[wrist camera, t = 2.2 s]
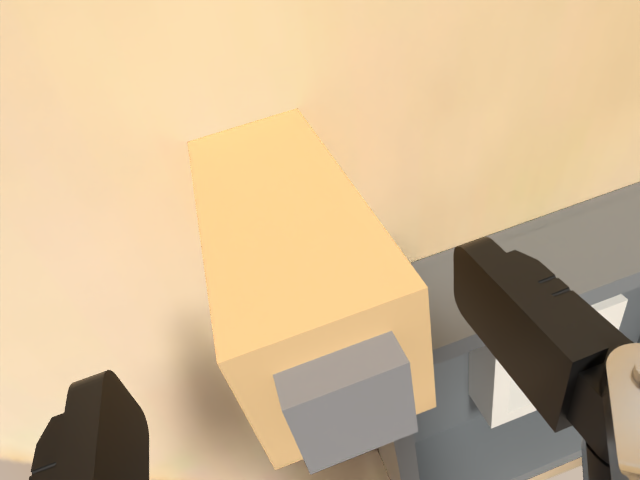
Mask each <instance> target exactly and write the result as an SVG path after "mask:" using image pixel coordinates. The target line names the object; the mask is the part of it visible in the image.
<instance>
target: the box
mask: <svg viewBox="0 0 640 480" xmlns="http://www.w3.org/2000/svg"><path fill="white" fill-rule="evenodd" d="M486 237H489V238H491V239H492V240H493V241H494V242H495V243H497V244H498V245H499V246H500V247H501V248H502V249H503V250H504V251H505V252H506V253H507V252H510V251H513V250H517V251H519V252H522V253H524V254H526V255H528V256H531V257H533V258H535V259H537V260H539V261H540V262H541V263H542V264H543V265H545V266H546V267H547V268H548V269H549V270H550V271H551V272H553V273H554V274H555V277H556V278H559V279H561V280H562V281H563V282H564V283H565V284H566V285H567V286H569V289H570V290H571V291H572V290H573V291H574V292H576V293H577V294H578V295H579V296H580V297H581V298H582V299H584V300H585V301H586V302H587V303H588V304H589V305H590V306H592V307H593V308H594V309H595V310H596V311H597V312H598V313H600V314H601V315H602V316H603V317H604V318H605V319H607V320H608V321H609V322H610V323H611V324H612V325H613V326H615V327H616V328H617V329H618V330H619V331H620V332H621V333H623V334H624V335H625V336H626V337H627V338H629V339H630V340H631V341H633V342H634V343H640V182H638V183H635V184H632V185H630V186H627V187H624V188H621V189H618V190H615V191H613V192H610V193H607V194H604V195H601V196H598V197H596V198H593V199H590V200H587V201H584V202H582V203H579V204H576V205H573V206H570V207H567V208H565V209H562V210H559V211H556V212H553V213H550V214H548V215H545V216H542V217H539V218H536V219H534V220H531V221H528V222H525V223H522V224H519V225H517V226H514V227H511V228H508V229H505V230H502V231H500V232H497V233H494V234H491V235H488V236H486ZM455 248H456V247H454V248H452V249H449V250H446V251H443V252H440V253H437V254H435V255H432V256H429V257H426V258H423V259H421V260H418V261H415V262H412V263H411V265H412V266H413V268H414V269H415V270H416V272H417V273H418V274H419V276H420V277H421V279H422V280H423V281H424V283H425V284H426V285H427V287H428V296H429V310H430V324H431V338H432V352H433V367H434V381H435V395H436V407H435V408H432V409H430V410H427V411H425V412H422V413H420V414H417V415H416V417H417V426H418V432H416V433H414V434H411V435H409V436H406V437H404V438H401V439H399V440H396V441H394V442H391V443H389V444H386V445H384V446H381V447H379V448H378V451H379V454H380V457H381V459H382V461H383V464H384V466H385V469H386V471H387V474H388V476H389V478H390V480H527V479H530V478H532V477H535V476H537V475H539V474H542V473H544V472H546V471H549V470H551V469H554V468H556V467H558V466H561V465H563V464H565V463H568V462H570V461H573V460H575V459H577V458H580V457H582V452H581V440H582V436H581V435H580V434H579V433H578V431H577V430H576V429H575V428H574V427H573V426H570V427H568V428H566V429H563V430H561V431H559V432H556V433H555V432H554V431H553V430H552V428H551V427H550V426H549V425H548V423H547V422H546V421H545V420H544V418H543V417H542V416H541V415H540V413H539V412H538V411H537V410H536V408H535V407H534V406H533V404H532V403H531V402H530V401H529V399H528V398H527V397H526V396H525V394H524V393H523V392H522V391H521V389H520V388H519V387H518V386H517V384H516V383H515V382H514V381H513V379H512V378H511V377H510V376H509V374H508V373H507V372H506V370H505V369H504V368H503V367H502V365H501V364H500V363H499V362H498V360H497V359H496V358H495V357H494V355H493V354H492V353H491V352H490V350H489V349H488V348H487V347H486V345H485V344H484V343H483V342H482V340H481V339H480V338H479V336H478V335H477V334H476V333H475V331H474V330H473V329H472V328H471V326H470V325H469V324H468V323H467V321H466V320H465V319H464V317H463V316H462V314H461V313H460V311H459V309H458V307H457V304H456V301H455V298H454V262H453V254H454V249H455Z"/></svg>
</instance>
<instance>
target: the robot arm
mask: <svg viewBox="0 0 640 480" xmlns="http://www.w3.org/2000/svg"><path fill="white" fill-rule="evenodd" d="M453 262H454V298H455V301H456V304H457V307H458V309H459V311H460V313H461V314H462V316H463V317H464V319H465V320H466V321H467V323H468V324H469V325H470V326H471V328H472V329H473V330H474V331H475V333H476V334H477V335H478V336H479V338H480V339H481V340H482V342H483V343H484V344H485V345H486V347H487V348H488V349H489V350H490V352H491V353H492V354H493V355H494V357H495V358H496V359H497V360H498V362H499V363H500V364H501V365H502V367H503V368H504V369H505V370H506V372H507V373H508V374H509V376H510V377H511V378H512V379H513V381H514V382H515V383H516V384H517V386H518V387H519V388H520V389H521V391H522V392H523V393H524V394H525V396H526V397H527V398H528V399H529V401H530V402H531V403H532V404H533V406H534V407H535V408H536V410H537V411H538V412H539V413H540V415H541V416H542V417H543V418H544V420H545V421H546V422H547V423H548V425H549V426H550V427H551V428H552V430H553V431H554V432H555V433H556V432H559V431H561V430H563V429H566V428H568V427H570V426H573V427H574V428H575V429H576V430H577V431H578V433H579V434H580V435H581V436H582V440H581V452H582V466H583V480H640V343H634V342H633V341H631V340H630V339H629V338H627V337H626V336H625V335H624V334H623V333H621V332H620V331H619V330H618V329H617V328H616V327H615V326H613V325H612V324H611V323H610V322H609V321H608V320H607V319H605V318H604V317H603V316H602V315H601V314H600V313H598V312H597V311H596V310H595V309H594V308H593V307H592V306H590V305H589V304H588V303H587V302H586V301H585V300H584V299H582V298H581V297H580V296H579V295H578V294H577V293H576V292H574V291H573V290H572V291H571V290H570V289H569V286H567V285H566V284H565V283H564V282H563V281H562V280H561V279H559V278H556V277H555V274H554V273H553V272H551V271H550V270H549V269H548V268H547V267H546V266H545V265H543V264H542V263H541V262H540V261H539V260H537V259H535V258H533V257H531V256H528V255H526V254H524V253H522V252H519V251H517V250H513V251H510V252H507V253H506V252H505V251H504V250H503V249H502V248H501V247H500V246H499V245H498V244H497V243H495V242H494V241H493V240H492V239H491V238H489V237H483V238H480V239H477V240H474V241H471V242H469V243H466V244H463V245H460V246H457V247H456V248H455V249H454V254H453ZM31 472H32V476H30V477H29V480H149V431H148V425H147V421H146V418H145V415H144V413H143V411H142V409H141V407H140V406H139V405H138V403H137V402H136V401H135V399H134V398H133V397H132V396H131V394H130V393H129V392H128V390H127V389H126V388H125V386H124V385H123V384H122V382H121V381H120V380H119V378H118V377H117V376H116V374H115V373H114V372H112V371H111V370H107V371H105V372H102V373H99V374H96V375H93V376H91V377H88V378H85V379H82V380H79V381H77V382H74V383H72V384H71V385H70V387H69V390H68V394H67V400H66V406H65V412H64V413H63V414H60V415H57V416H55V417H52V418H51V420H50V422H49V423H48V425H47V427H46V429H45V430H44V432H43V434H42V436H41V437H40V439H39V441H38V443H37V444H36V449H35V454H34V458H33V463H32V469H31Z"/></svg>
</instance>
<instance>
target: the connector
mask: <svg viewBox="0 0 640 480" xmlns="http://www.w3.org/2000/svg"><path fill="white" fill-rule="evenodd" d="M188 149H189V157H190V164H191V172H192V179H193V187H194V194H195V202H196V209H197V217H198V224H199V232H200V239H201V247H202V254H203V262H204V269H205V277H206V284H207V292H208V300H209V307H210V315H211V322H212V330H213V337H214V345H215V352H216V360H217V365H218V366H219V368H220V370H221V372H222V374H223V376H224V377H225V379H226V381H227V383H228V385H229V387H230V388H231V390H232V392H233V394H234V396H235V398H236V399H237V401H238V403H239V405H240V407H241V409H242V410H243V412H244V414H245V416H246V418H247V420H248V421H249V423H250V425H251V427H252V429H253V431H254V432H255V434H256V436H257V438H258V440H259V442H260V443H261V445H262V447H263V449H264V451H265V453H266V454H267V456H268V458H269V460H270V462H271V464H272V465H273V467H274V469H275V470H277V469H280V468H283V467H285V466H288V465H290V464H293V463H295V462H298V461H300V460H303V459H304V461H305V464H306V466H307V468H308V470H309V472H310V475H311V474H313V473H316V472H318V471H321V470H323V469H326V468H328V467H331V466H333V465H336V464H338V463H341V462H343V461H346V460H348V459H351V458H353V457H356V456H359V455H361V454H364V453H366V452H369V451H371V450H374V449H376V448H379V447H381V446H384V445H386V444H389V443H391V442H394V441H396V440H399V439H401V438H404V437H406V436H409V435H411V434H414V433H416V432H418V426H417V417H416V415H417V414H420V413H422V412H425V411H427V410H430V409H432V408H435V407H436V395H435V381H434V367H433V352H432V338H431V324H430V310H429V296H428V287H427V285H426V284H425V283H424V281H423V280H422V279H421V277H420V276H419V274H418V273H417V272H416V270H415V269H414V268H413V266H412V265H411V263H410V262H409V261H408V259H407V258H406V257H405V255H404V254H403V253H402V251H401V250H400V248H399V247H398V246H397V244H396V243H395V242H394V240H393V239H392V237H391V236H390V235H389V233H388V232H387V231H386V229H385V228H384V227H383V225H382V224H381V222H380V221H379V220H378V218H377V217H376V216H375V214H374V213H373V211H372V210H371V209H370V207H369V206H368V205H367V203H366V202H365V200H364V199H363V198H362V196H361V195H360V194H359V192H358V191H357V190H356V188H355V187H354V185H353V184H352V183H351V181H350V180H349V179H348V177H347V176H346V174H345V173H344V172H343V170H342V169H341V168H340V166H339V165H338V164H337V162H336V161H335V159H334V158H333V157H332V155H331V154H330V153H329V151H328V150H327V148H326V147H325V146H324V144H323V143H322V142H321V140H320V139H319V137H318V136H317V135H316V133H315V132H314V131H313V129H312V128H311V127H310V125H309V124H308V122H307V121H306V120H305V118H304V117H303V116H302V114H301V113H300V111H299V110H298V109H294V110H290V111H287V112H284V113H281V114H277V115H274V116H271V117H268V118H264V119H261V120H258V121H255V122H251V123H248V124H245V125H242V126H238V127H235V128H232V129H229V130H225V131H222V132H219V133H216V134H212V135H209V136H206V137H203V138H199V139H196V140H193V141H190V142H188Z"/></svg>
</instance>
